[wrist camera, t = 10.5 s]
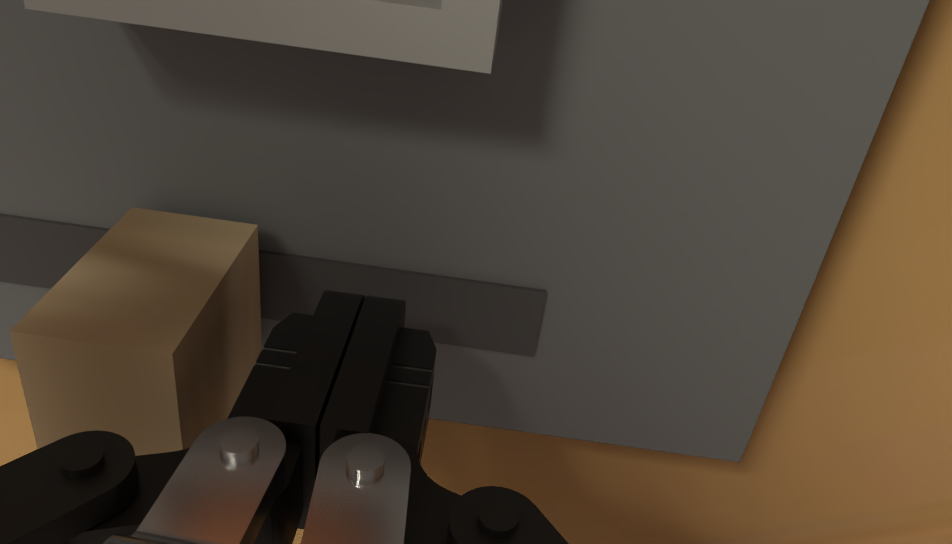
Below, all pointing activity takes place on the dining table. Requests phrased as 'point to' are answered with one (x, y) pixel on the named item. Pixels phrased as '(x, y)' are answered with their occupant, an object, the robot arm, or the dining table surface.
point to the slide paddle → (145, 333)
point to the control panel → (475, 178)
